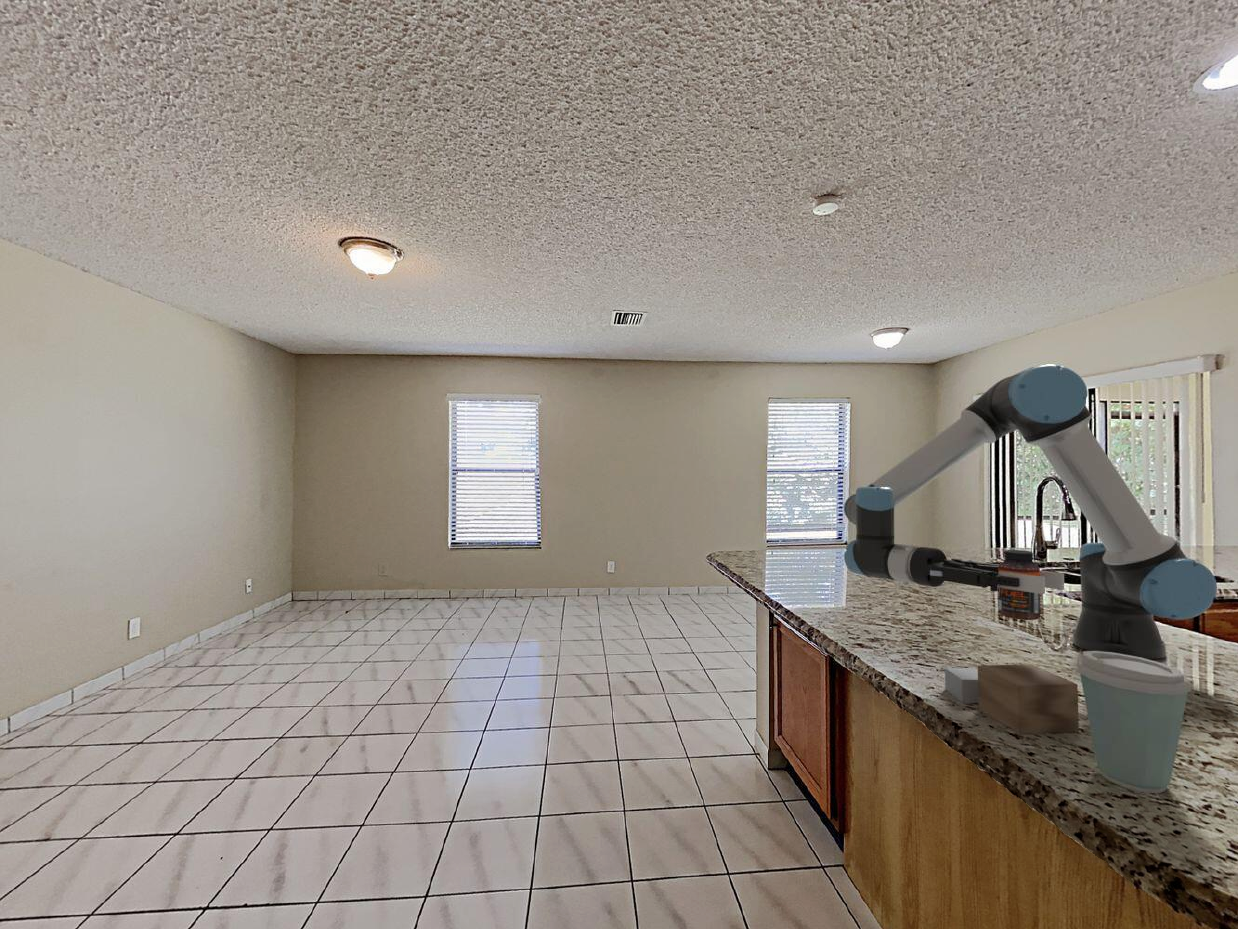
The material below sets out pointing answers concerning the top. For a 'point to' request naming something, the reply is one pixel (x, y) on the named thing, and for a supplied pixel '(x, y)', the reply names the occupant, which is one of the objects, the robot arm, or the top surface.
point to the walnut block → (1028, 698)
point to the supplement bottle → (1015, 600)
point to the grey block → (962, 683)
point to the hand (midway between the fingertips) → (1053, 583)
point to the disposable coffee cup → (1133, 717)
